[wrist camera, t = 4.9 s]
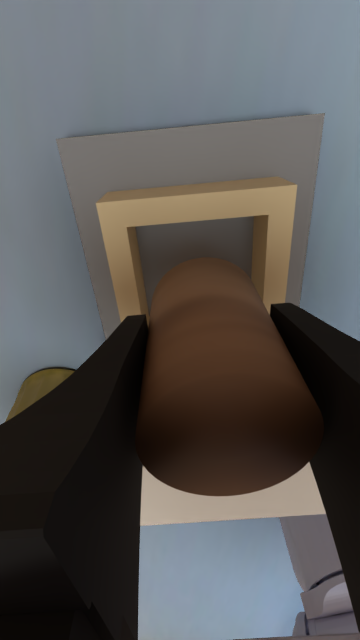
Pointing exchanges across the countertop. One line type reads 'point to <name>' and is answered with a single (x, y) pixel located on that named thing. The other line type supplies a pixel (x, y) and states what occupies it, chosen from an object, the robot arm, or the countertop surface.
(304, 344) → the robot arm
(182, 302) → the peg
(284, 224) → the socket stand
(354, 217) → the countertop surface
